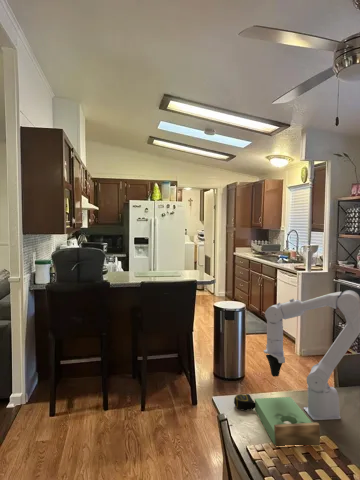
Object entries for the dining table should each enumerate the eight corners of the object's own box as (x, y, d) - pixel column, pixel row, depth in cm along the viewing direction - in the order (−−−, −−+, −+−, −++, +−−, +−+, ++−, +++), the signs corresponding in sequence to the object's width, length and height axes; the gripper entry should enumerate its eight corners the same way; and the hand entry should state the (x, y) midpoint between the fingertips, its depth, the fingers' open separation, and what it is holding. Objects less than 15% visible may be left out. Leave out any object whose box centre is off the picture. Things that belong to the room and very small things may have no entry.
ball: (293, 431, 100) (295, 435, 102) (291, 418, 103) (293, 423, 105) (281, 432, 101) (283, 436, 103) (279, 419, 104) (281, 424, 106)
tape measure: (256, 412, 117) (255, 401, 117) (236, 413, 116) (236, 402, 116) (250, 402, 124) (250, 392, 124) (232, 403, 123) (232, 393, 123)
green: (290, 408, 119) (290, 396, 119) (320, 445, 97) (319, 431, 97) (254, 409, 118) (254, 398, 118) (276, 447, 96) (275, 433, 96)
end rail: (318, 443, 98) (317, 422, 98) (320, 445, 97) (319, 424, 97) (274, 445, 97) (274, 424, 97) (276, 447, 96) (275, 426, 96)
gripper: (258, 333, 129) (258, 368, 129) (270, 344, 114) (270, 384, 114) (276, 332, 129) (276, 367, 129) (290, 344, 115) (290, 384, 115)
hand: (275, 375), depth 122 cm, fingers closed
